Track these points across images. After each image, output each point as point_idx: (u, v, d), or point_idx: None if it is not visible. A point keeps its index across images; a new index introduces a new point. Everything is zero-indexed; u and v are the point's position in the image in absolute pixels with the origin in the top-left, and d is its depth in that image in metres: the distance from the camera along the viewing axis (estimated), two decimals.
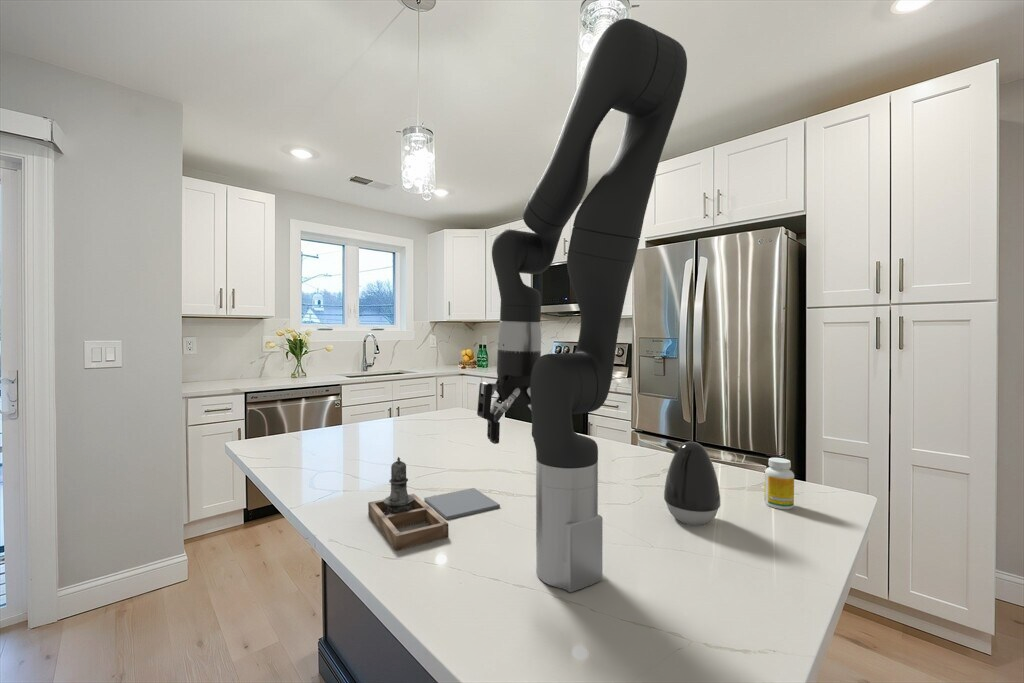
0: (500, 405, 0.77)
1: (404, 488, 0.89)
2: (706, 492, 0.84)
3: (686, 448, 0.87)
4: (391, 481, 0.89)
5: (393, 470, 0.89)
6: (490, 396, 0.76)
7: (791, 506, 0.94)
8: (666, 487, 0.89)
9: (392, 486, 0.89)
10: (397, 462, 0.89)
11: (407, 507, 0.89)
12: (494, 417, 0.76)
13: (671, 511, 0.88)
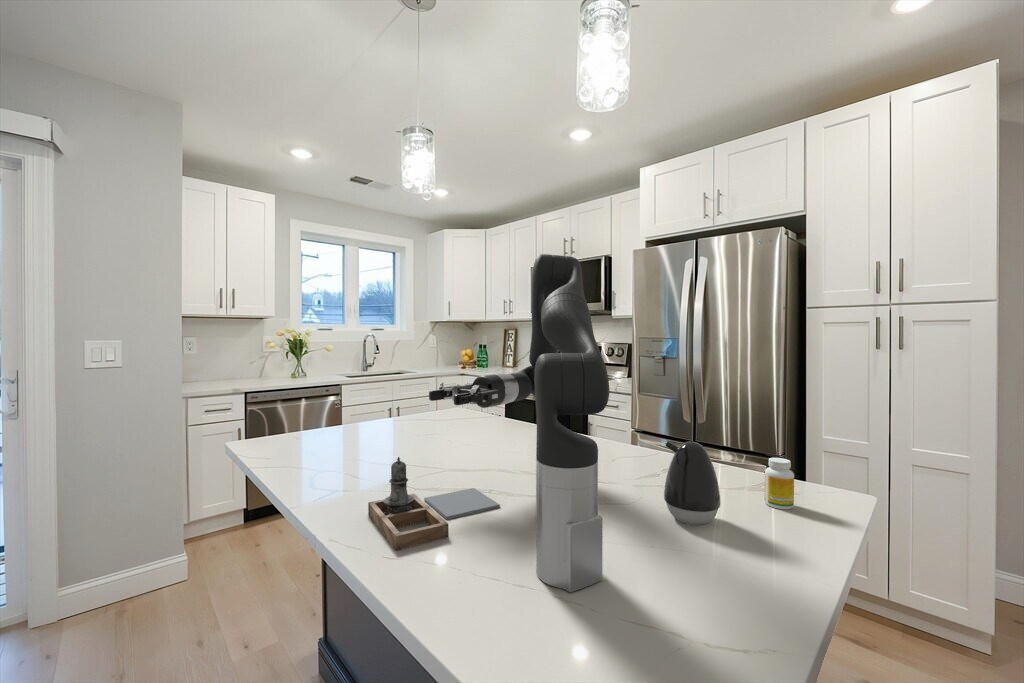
0: None
1: (404, 488, 0.89)
2: (706, 492, 0.84)
3: (686, 448, 0.87)
4: (391, 481, 0.89)
5: (393, 470, 0.89)
6: None
7: (791, 506, 0.94)
8: (666, 487, 0.89)
9: (392, 486, 0.89)
10: (397, 462, 0.89)
11: (407, 507, 0.89)
12: (444, 388, 1.05)
13: (671, 511, 0.88)
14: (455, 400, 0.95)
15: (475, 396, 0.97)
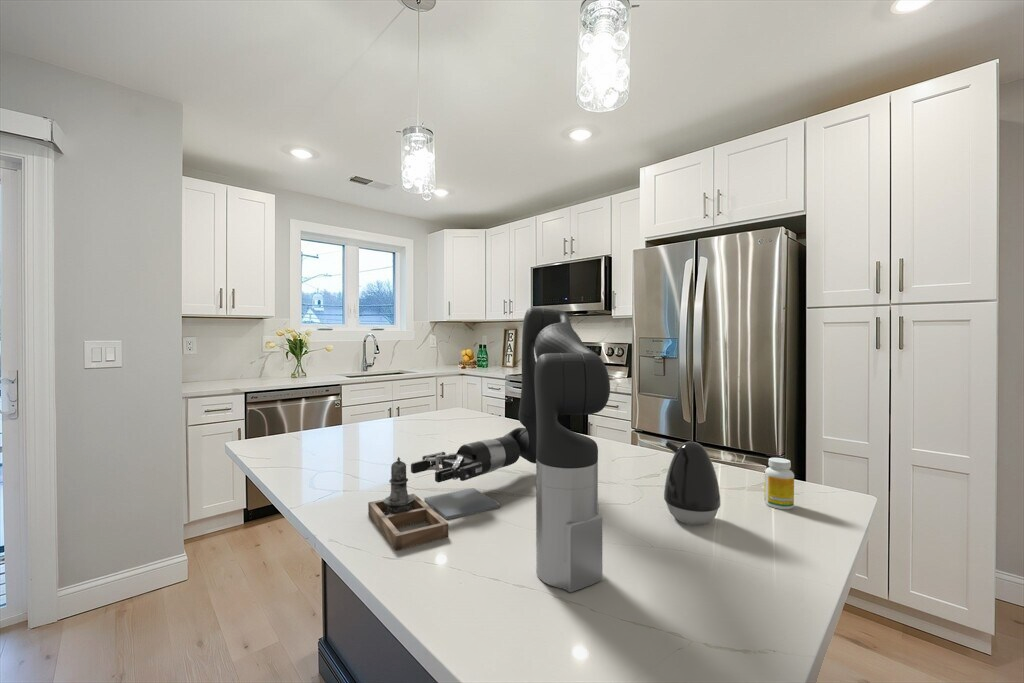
0: None
1: (404, 488, 0.89)
2: (706, 492, 0.84)
3: (686, 448, 0.87)
4: (391, 481, 0.89)
5: (393, 470, 0.89)
6: (438, 454, 1.04)
7: (791, 506, 0.94)
8: (666, 487, 0.89)
9: (392, 486, 0.89)
10: (397, 462, 0.89)
11: (407, 507, 0.89)
12: (427, 457, 1.01)
13: (671, 511, 0.88)
14: (436, 477, 0.91)
15: (457, 471, 0.93)
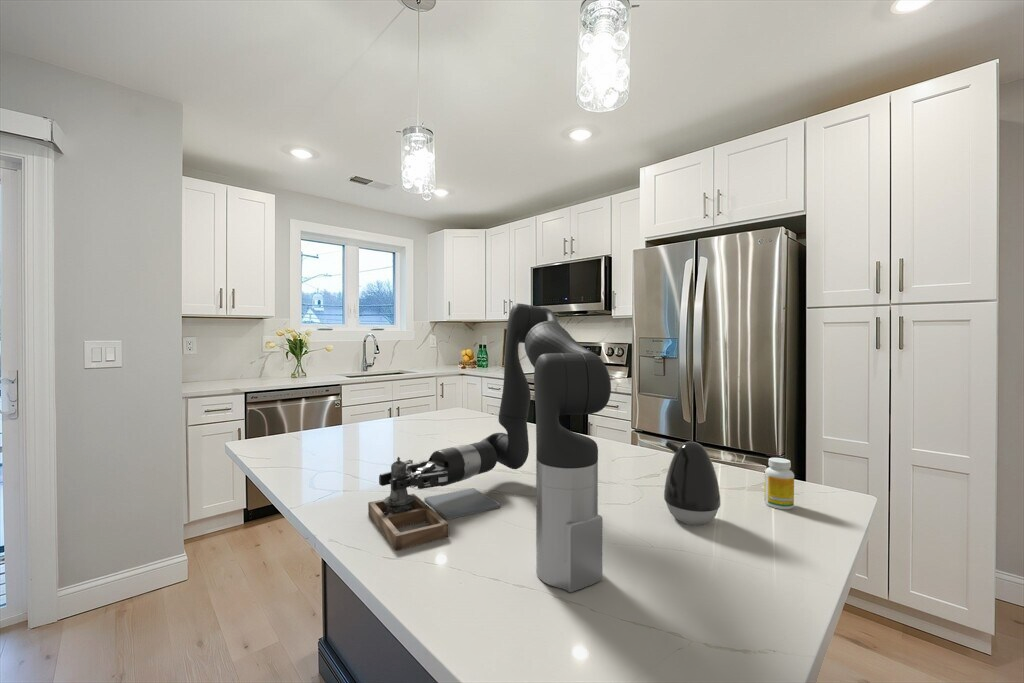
0: None
1: (404, 488, 0.89)
2: (706, 492, 0.84)
3: (686, 448, 0.87)
4: None
5: (393, 470, 0.89)
6: (407, 462, 0.97)
7: (791, 506, 0.94)
8: (666, 487, 0.89)
9: None
10: (397, 462, 0.89)
11: (407, 507, 0.89)
12: None
13: (671, 511, 0.88)
14: (392, 485, 0.86)
15: (415, 479, 0.88)
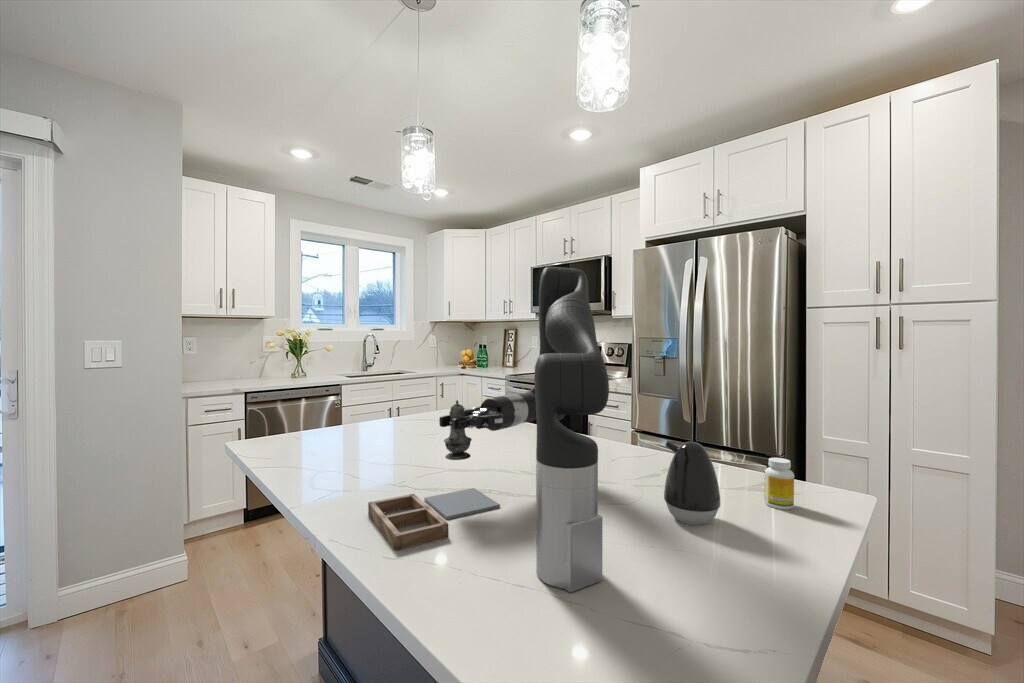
0: None
1: (463, 429, 0.96)
2: (706, 492, 0.84)
3: (686, 448, 0.87)
4: (451, 422, 0.95)
5: (453, 412, 0.95)
6: None
7: (791, 506, 0.94)
8: (666, 487, 0.89)
9: None
10: (456, 404, 0.96)
11: (466, 446, 0.95)
12: None
13: (671, 511, 0.88)
14: (454, 424, 0.93)
15: (474, 419, 0.95)
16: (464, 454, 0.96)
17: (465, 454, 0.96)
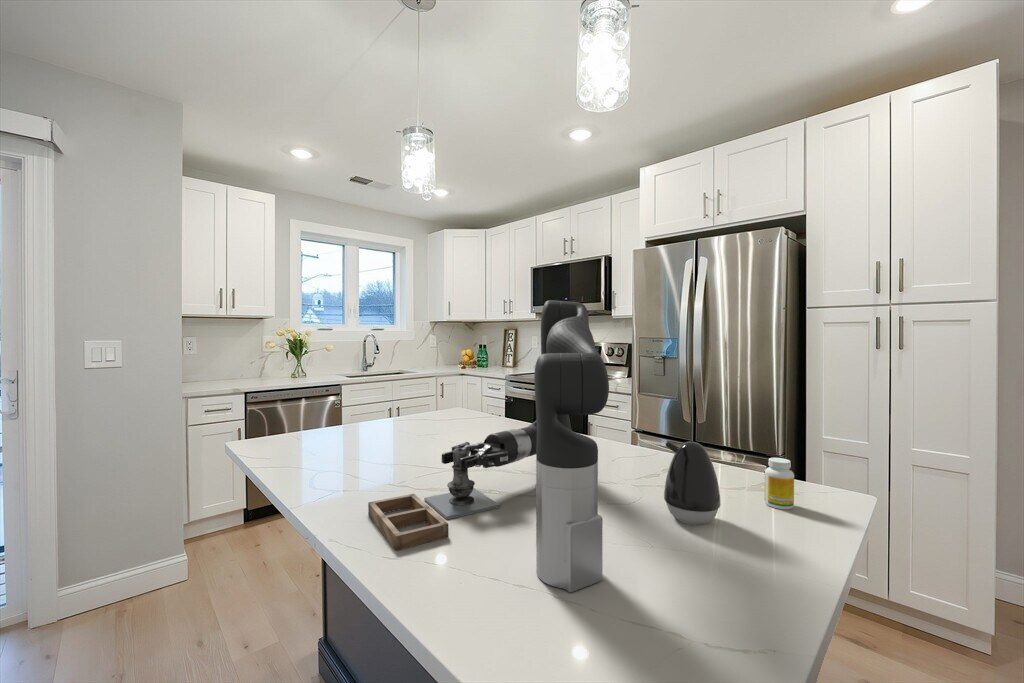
0: None
1: (466, 473, 0.96)
2: (706, 492, 0.84)
3: (686, 448, 0.87)
4: (454, 467, 0.96)
5: (455, 457, 0.96)
6: (464, 444, 1.05)
7: (791, 506, 0.94)
8: (666, 487, 0.89)
9: (455, 471, 0.96)
10: (458, 449, 0.96)
11: (470, 490, 0.96)
12: (456, 448, 1.01)
13: (671, 511, 0.88)
14: (460, 464, 0.93)
15: (480, 459, 0.95)
16: (468, 498, 0.97)
17: (469, 498, 0.97)
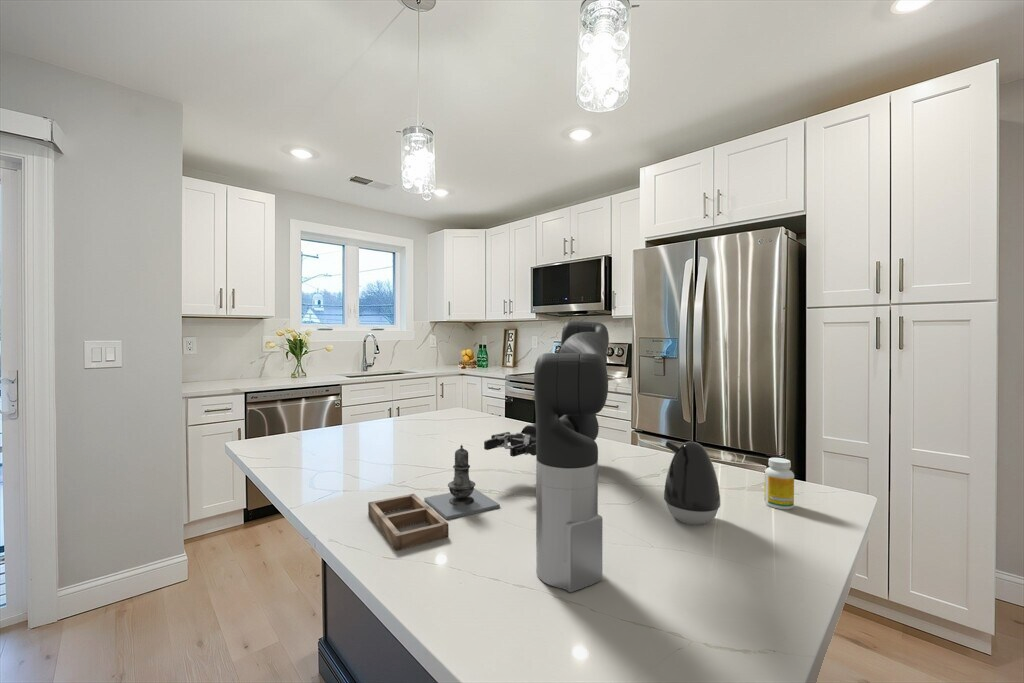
0: None
1: (467, 473, 0.96)
2: (706, 492, 0.84)
3: (686, 448, 0.87)
4: (455, 467, 0.96)
5: (457, 457, 0.96)
6: (504, 433, 1.15)
7: (791, 506, 0.94)
8: (666, 487, 0.89)
9: (456, 471, 0.96)
10: (460, 449, 0.97)
11: (470, 491, 0.96)
12: None
13: (671, 511, 0.88)
14: (511, 452, 1.02)
15: (529, 447, 1.04)
16: (468, 499, 0.97)
17: (469, 499, 0.97)
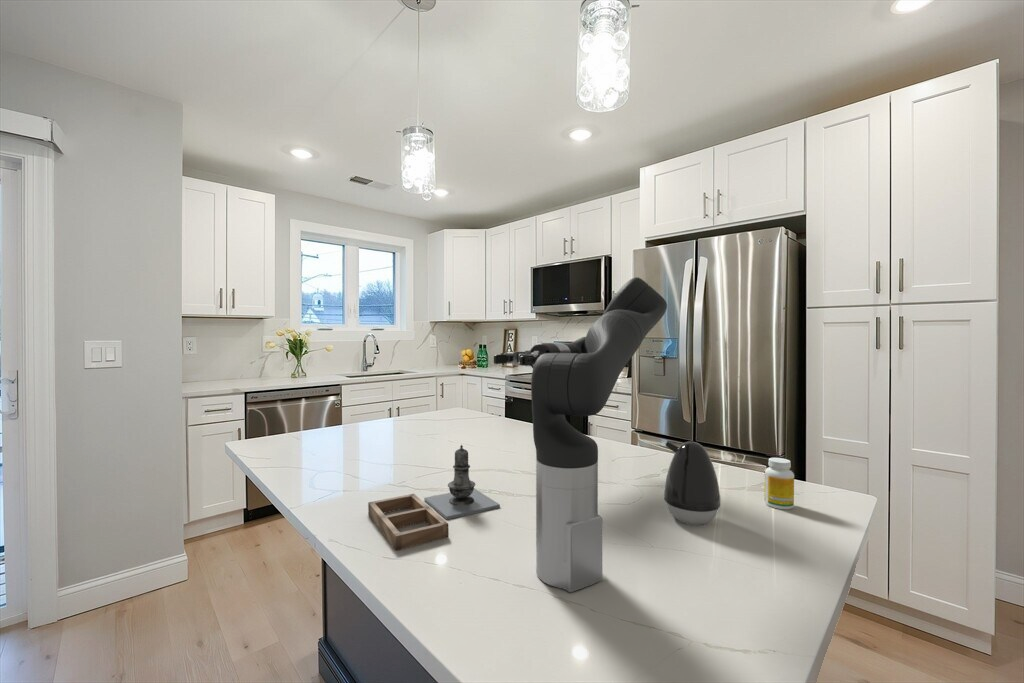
0: None
1: (467, 473, 0.96)
2: (706, 492, 0.84)
3: (686, 448, 0.87)
4: (455, 467, 0.96)
5: (457, 457, 0.96)
6: None
7: (791, 506, 0.94)
8: (666, 487, 0.89)
9: (456, 472, 0.96)
10: (460, 449, 0.97)
11: (470, 491, 0.96)
12: None
13: (671, 511, 0.88)
14: (521, 361, 1.04)
15: (538, 358, 1.06)
16: (468, 499, 0.97)
17: (469, 499, 0.97)
